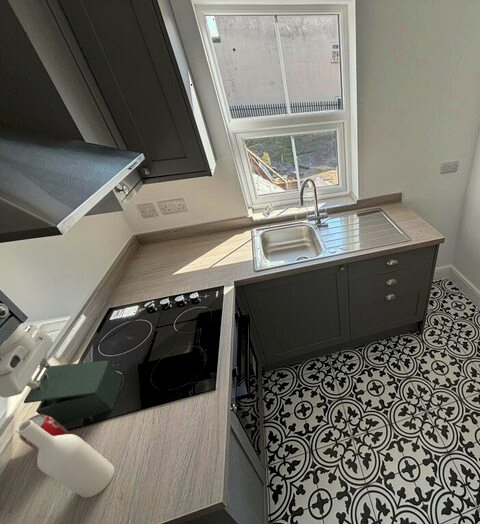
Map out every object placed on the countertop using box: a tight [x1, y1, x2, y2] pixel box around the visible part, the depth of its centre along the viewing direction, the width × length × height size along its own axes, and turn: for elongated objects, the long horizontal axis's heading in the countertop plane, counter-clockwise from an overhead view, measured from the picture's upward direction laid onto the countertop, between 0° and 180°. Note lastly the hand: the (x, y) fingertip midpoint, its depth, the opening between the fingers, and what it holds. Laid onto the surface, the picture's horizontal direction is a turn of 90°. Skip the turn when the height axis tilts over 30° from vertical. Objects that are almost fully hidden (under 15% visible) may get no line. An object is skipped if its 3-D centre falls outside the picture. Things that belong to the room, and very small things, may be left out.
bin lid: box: [23, 360, 109, 404], centre depth 92 cm, size 16×13×5 cm
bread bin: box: [35, 361, 123, 427], centre depth 97 cm, size 16×13×10 cm
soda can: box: [18, 414, 71, 452], centre depth 85 cm, size 7×7×12 cm
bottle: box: [16, 419, 115, 498], centre depth 72 cm, size 8×8×30 cm
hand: (41, 377), depth 89 cm, fingers closed on bin lid, 5 cm apart
